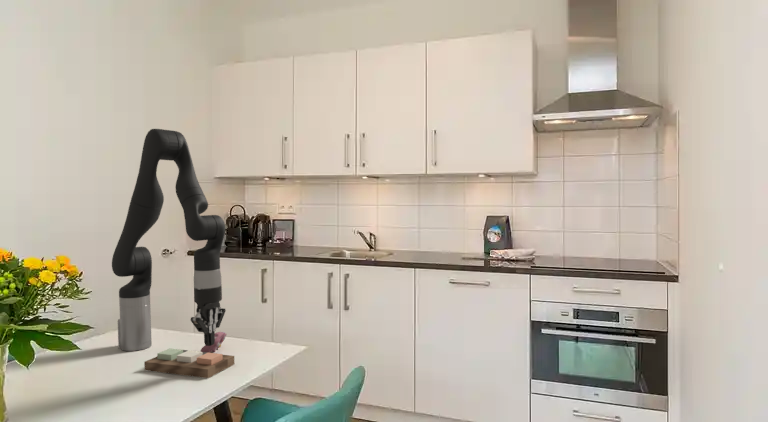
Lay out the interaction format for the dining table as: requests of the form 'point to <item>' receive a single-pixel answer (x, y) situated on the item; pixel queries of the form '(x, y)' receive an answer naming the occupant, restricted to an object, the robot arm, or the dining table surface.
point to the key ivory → (189, 356)
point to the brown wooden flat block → (188, 366)
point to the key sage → (169, 354)
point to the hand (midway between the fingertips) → (209, 345)
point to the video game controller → (218, 341)
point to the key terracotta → (209, 358)
